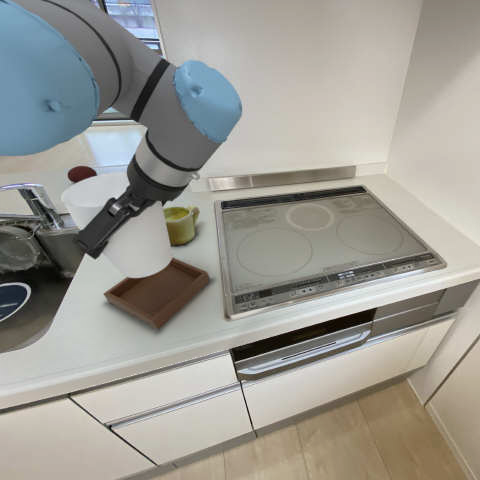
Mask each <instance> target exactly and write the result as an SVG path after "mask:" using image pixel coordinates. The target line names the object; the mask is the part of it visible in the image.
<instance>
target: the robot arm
mask: <svg viewBox="0 0 480 480" xmlns="http://www.w3.org/2000/svg"><path fill="white" fill-rule="evenodd" d="M110 108H112V109H114V110H115V111H117V113H118V112H119V113H120V114H122V115H124V116H125V117H127V118H128V119H130V120H132V121H134V122H136V123H137V124H140V125H141V126H143V127H144V128H146V131H145V132H144V134H143V136H142V138H141V140H140V141H139V143H138V145H137V147H136V150H135V152H134V154H133V155H132V158H131V159H130V161H129V163H128V165H127V167H126V172H127V177H128V180H129V183H130V185H129V186H128V187H127V188H126V191H125V192H124V193H123V194H122V195H121V196H120V197H119V198H118V199H116V198H114V197H112V198H110V199H108V201H107V202H106V204H105V205H104V207H103V209H102V210H101V211H100V212H99V213H98V214H97V215H96V216H95V217H94V218H93V219H92V220H91V221H90V223H89V224H88V225H87V226H86V227H85V228H84V229H83V230H78V232H77V233H78V234H77V235H76V236H75V237H74V238H73V240H72V242H71V243H73V244H74V245H76V246H77V247H78V248H79V250H80V251H82V252H84V253H85V254H86V255H88V256H89V257H90V258H92V259H93V260H97V259H98V258H100V256H101V255H102V254H103V253H102V251H103V250H104V248H105V247H106V245H107V244H108V242H109V241H107V240H108V239H109V238H110V237H111V236H112V235H113V234H114V233H116V232H117V231H118V230H119V229H120V228H121V227H122V226H123V225H124V224H125V223H126V222H127V221H129V220H130V219H131V218H132V217H137V216H139V215H140V214H141V213H142V212H143V211H145V210H146V209H147V208H148V207H151V206H153V205H154V204H155V203H156V202H157V201H161V202H162V207H163V208H164V206H166V204H167V203H168V202H173V201H174V200H176V199H178V198H179V197H181V195H182V193H184V191H185V190H186V189H187V188H188V186H189V185H190V183H191V182H192V180H195V181H198V180H200V179H201V175H200V173H199V172H200V170H201V169H202V168H203V167H204V166H205V165H206V163H207V162H208V161H209V160H210V159H211V157H212V156H213V155H214V154H215V153H216V152H217V150H218V149H219V148H220V147H221V145H223V144H224V143H225V142H227V140H228V137H229V136H230V134H231V133H232V131H233V130H234V128H235V127H236V125H237V124H238V122H239V121H240V119H241V118H242V116H243V104H242V100H241V97H240V95H239V93H238V92H237V90H236V88H235V87H234V86H233V84H232V83H231V82H230V81H229V79H228V78H227V77H226V76H225V75H224V74H223V73H221V72H220V71H219V70H218V69H216V68H213V67H209V66H208V65H207V64H206V63H205V62H203V61H200V60H197V59H190V60H189V59H188V60H185V61H184V62H183V63H182V64H180V66H178V67H177V66H176V65H175V64H174V63H172V62H169V61H168V60H167V59H166V58H164V57H162V55H160V54H159V53H158V52H156V51H155V50H154V49H152V48H151V47H150V46H149V45H147V44H146V43H145V42H143V41H142V40H141V39H139V38H138V37H137V36H135V34H134V33H132V32H131V31H129V30H128V29H127V28H125V27H124V26H123V25H121V24H120V23H119V22H118V21H116V19H114V18H113V17H112V16H111V15H109V14H107V13H106V12H105V11H104V10H103V9H102V8H100V7H99V6H97V5H96V4H95V3H94V2H93V0H0V157H1V156H2V157H25V156H31V155H36V154H40V153H43V152H46V151H48V150H50V149H52V148H54V147H56V146H58V145H60V144H63V143H66V142H69V141H71V140H73V138H75V137H77V136H79V135H81V134H83V133H84V132H85V131H87V130H88V129H89V128H90V127H91V126H92V124H93V122H94V120H96V119H97V118H98V117H100V116H101V115H102V114H103V113H104V112H105V111H107V110H109V109H110ZM131 204H132V205H133V206H135V207H137V208H139V209H138V210H137V211H135V210H134V209H133V208H132V207H130V205H131Z"/></svg>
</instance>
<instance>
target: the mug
mask: <svg viewBox="0 0 480 480" xmlns="http://www.w3.org/2000/svg"><path fill="white" fill-rule="evenodd" d="M163 212H164V216H165V221H166V226H167V231H168V236H169V241H170V245H171V246H180V245H181V246H182V245H186V244H187V243H189V242H190V241H191V240H193V239H194V238H195V237H196V236H195V235H196V232H195V228H196V223H197V221H198V219H199V215H200V214H201V213H200V209H199V208H198V206H197V205H194V204H192V205H191V204H190V205H189V206H187V207H185V206H178V205H172V206H166V207H163Z"/></svg>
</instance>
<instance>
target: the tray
mask: <svg viewBox="0 0 480 480" xmlns="http://www.w3.org/2000/svg"><path fill="white" fill-rule="evenodd" d="M210 282H211V279H210V276H209V273H208V271H205V270H203V269H201V268H198V267H196V266H193V265H192V264H189V263H187V262H184V261H182V260H180V259H177V258H175V257H173V256H172V260H171V262H170V263H169V264H168V265H167V266H166V267H165V268H164V269H162V270H161V271H159V272H157V273H155V274H153V275H150V276H147V277H142V278H130V277H125V278H124V279H123V280H121V281H119V282H118V283H117V284H115V285H113V286H112V287H111V288H110V289H107V290H106V291H105V292H104V293H103V296H104V297H105V299H106V300H107V302H108V303H109V304H111V305H113V306H114V307H116V308H118V309H120V310H121V311H123V312H125V313H127V314H129V315H130V316H132V317H135V318H136V319H138V320H139V321H142V322H143V323H145V324H147V325H149V326H151V327H153V328H155V329H156V330H160V329H161V328H162V327H163V326H164V325H165V324H166V323H167V322H168V321H169V320H170V319H171V318H173V316H174V315H176V314H177V313H178V312H179V311H180V310H181V309H182V308H183V307H185V305H187V303H189V302H190V301H191V300H192V299H193V298H194V297H195V296H196V295H197V294H198V293H199V292H201V290H203V288H205V287H206V286H208V284H209V283H210Z"/></svg>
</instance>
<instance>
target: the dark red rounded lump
mask: <svg viewBox="0 0 480 480" xmlns="http://www.w3.org/2000/svg"><path fill="white" fill-rule="evenodd" d="M94 176H98V173H97V171H96V170H95V169H94V168H92V167H90V166H88V165H77V166H74V167H72V168H71V169H69V170H68V172H67V179H68V180H69V181H70V182H71V183H74V184H75V183H77V182H80V181H82V180H85V179H87V178H90V177H94Z"/></svg>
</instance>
